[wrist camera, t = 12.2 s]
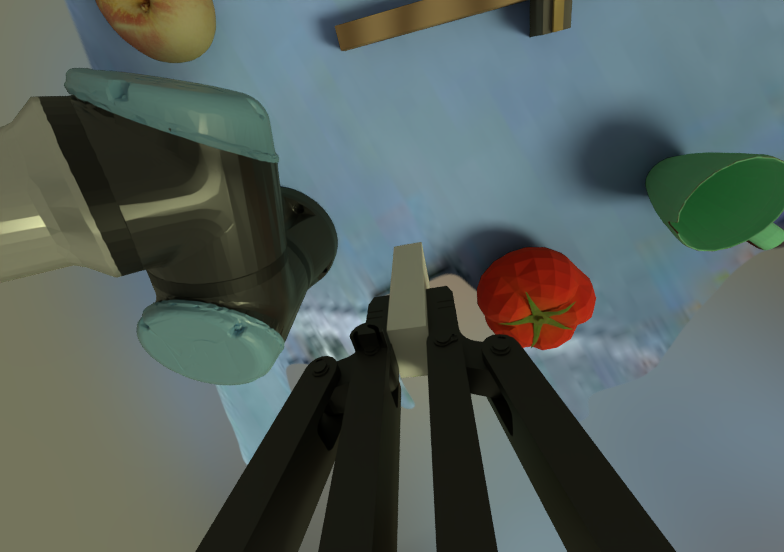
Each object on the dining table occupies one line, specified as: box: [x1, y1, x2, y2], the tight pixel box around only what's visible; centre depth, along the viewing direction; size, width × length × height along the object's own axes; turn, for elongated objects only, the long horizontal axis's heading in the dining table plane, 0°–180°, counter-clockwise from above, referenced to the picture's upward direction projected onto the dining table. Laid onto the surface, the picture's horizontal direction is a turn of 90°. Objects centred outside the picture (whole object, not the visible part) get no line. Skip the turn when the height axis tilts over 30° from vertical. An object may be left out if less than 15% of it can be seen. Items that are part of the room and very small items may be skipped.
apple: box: [95, 0, 216, 63], centre depth 30 cm, size 9×9×8 cm
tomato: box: [477, 247, 596, 350], centre depth 46 cm, size 14×16×10 cm
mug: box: [645, 152, 784, 251], centre depth 37 cm, size 15×10×10 cm
